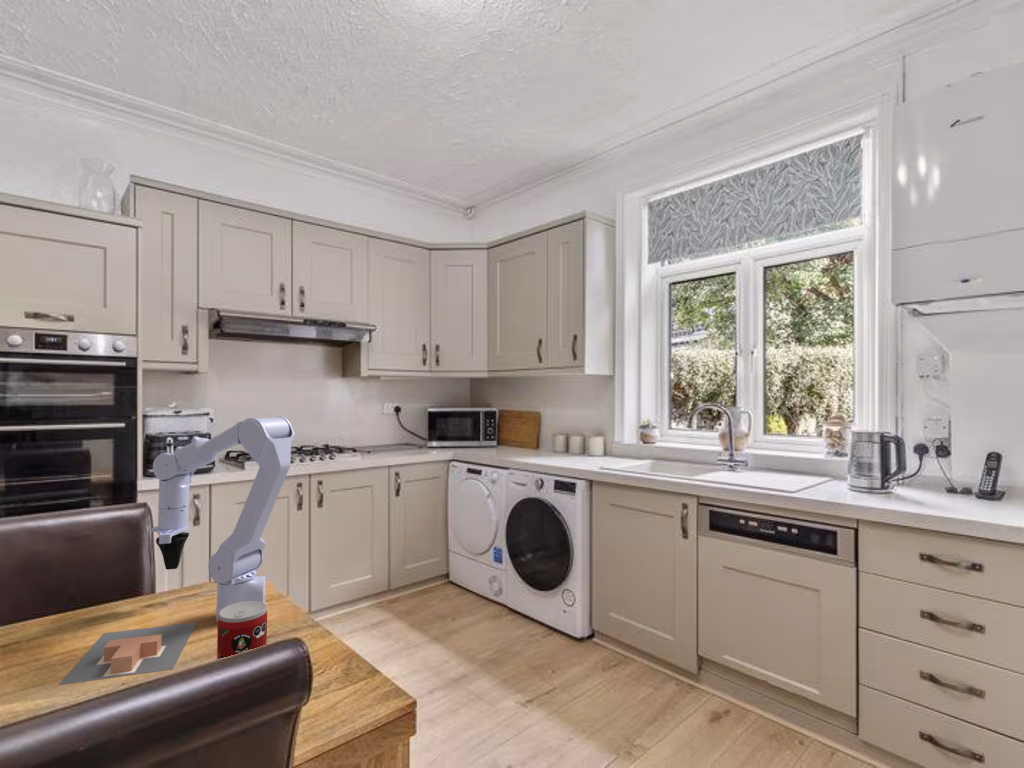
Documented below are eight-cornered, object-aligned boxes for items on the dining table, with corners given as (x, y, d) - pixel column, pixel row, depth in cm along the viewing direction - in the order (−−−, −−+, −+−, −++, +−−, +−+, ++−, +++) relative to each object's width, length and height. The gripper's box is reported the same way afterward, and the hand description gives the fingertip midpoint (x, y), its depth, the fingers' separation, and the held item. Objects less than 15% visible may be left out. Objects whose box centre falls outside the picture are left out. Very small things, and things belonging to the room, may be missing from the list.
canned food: (214, 689, 88) (215, 621, 88) (218, 666, 95) (220, 603, 96) (265, 680, 91) (267, 614, 91) (266, 658, 99) (267, 598, 99)
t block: (161, 647, 100) (161, 634, 100) (148, 668, 92) (149, 653, 93) (109, 654, 97) (110, 640, 97) (92, 676, 90) (93, 660, 90)
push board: (196, 627, 111) (196, 622, 111) (172, 674, 92) (172, 669, 92) (103, 638, 106) (103, 633, 106) (57, 691, 87) (58, 684, 87)
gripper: (161, 501, 125) (159, 560, 125) (142, 514, 111) (140, 580, 111) (196, 499, 127) (194, 557, 127) (182, 512, 114) (180, 577, 114)
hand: (172, 568), depth 119 cm, fingers closed
